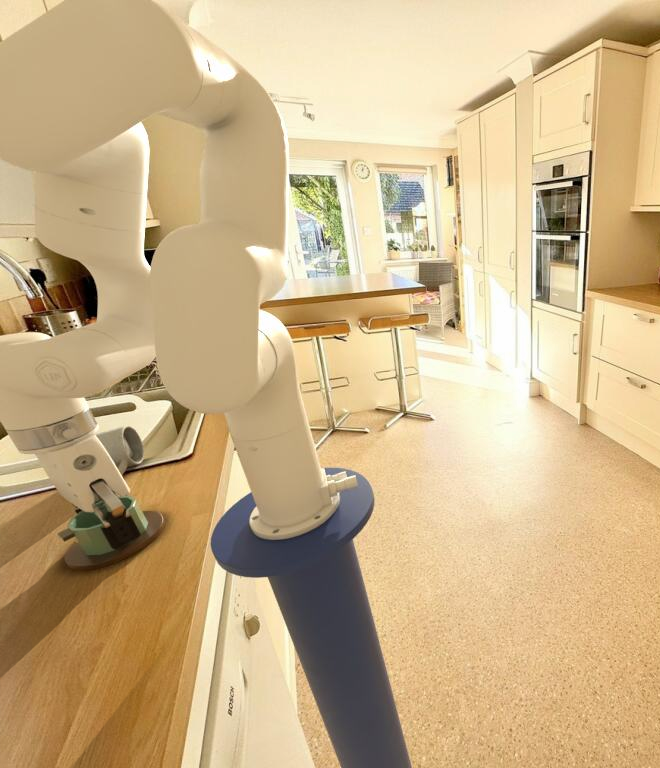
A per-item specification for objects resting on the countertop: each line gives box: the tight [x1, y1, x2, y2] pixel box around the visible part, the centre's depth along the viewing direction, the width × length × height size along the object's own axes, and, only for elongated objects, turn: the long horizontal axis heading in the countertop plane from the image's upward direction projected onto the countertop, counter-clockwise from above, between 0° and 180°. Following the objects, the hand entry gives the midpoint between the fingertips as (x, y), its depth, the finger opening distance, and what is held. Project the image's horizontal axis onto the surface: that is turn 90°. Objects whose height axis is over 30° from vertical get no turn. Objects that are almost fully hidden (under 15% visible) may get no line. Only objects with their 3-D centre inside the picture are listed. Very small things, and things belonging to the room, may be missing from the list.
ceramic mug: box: [94, 425, 145, 476], centre depth 76 cm, size 11×8×8 cm
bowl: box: [56, 495, 148, 555], centre depth 59 cm, size 8×7×4 cm
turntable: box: [63, 510, 166, 571], centre depth 61 cm, size 11×11×1 cm
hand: (113, 532), depth 60 cm, fingers closed on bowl, 7 cm apart
